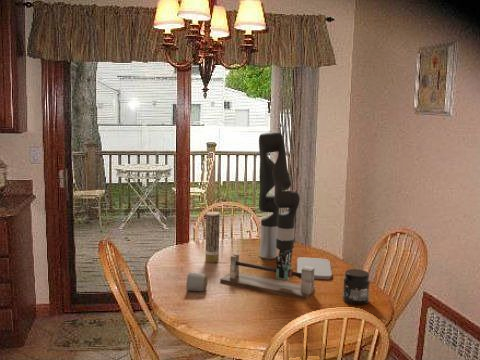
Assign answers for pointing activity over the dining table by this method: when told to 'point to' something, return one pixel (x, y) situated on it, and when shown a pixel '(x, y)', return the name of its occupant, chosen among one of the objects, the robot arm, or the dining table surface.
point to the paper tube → (212, 236)
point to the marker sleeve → (286, 276)
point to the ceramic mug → (196, 282)
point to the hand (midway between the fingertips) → (283, 275)
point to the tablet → (319, 264)
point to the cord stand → (271, 280)
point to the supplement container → (356, 287)
